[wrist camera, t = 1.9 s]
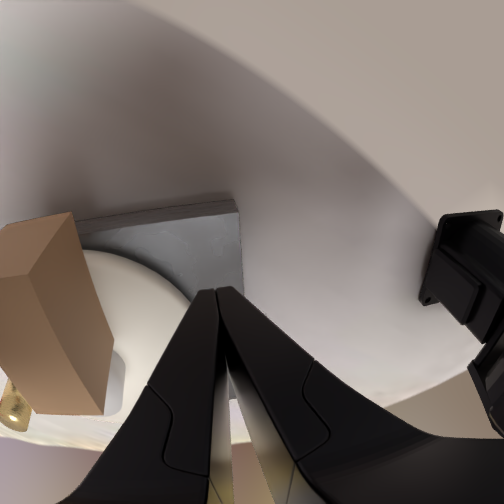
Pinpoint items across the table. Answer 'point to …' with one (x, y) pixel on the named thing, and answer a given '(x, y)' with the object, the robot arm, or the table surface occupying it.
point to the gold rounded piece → (14, 409)
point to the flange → (79, 321)
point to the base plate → (176, 245)
